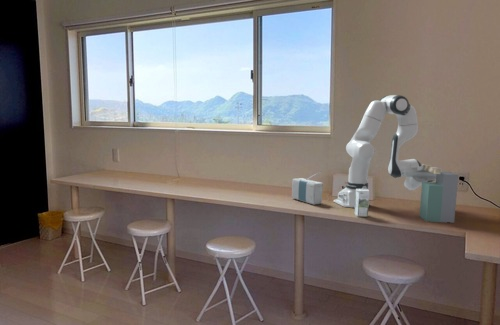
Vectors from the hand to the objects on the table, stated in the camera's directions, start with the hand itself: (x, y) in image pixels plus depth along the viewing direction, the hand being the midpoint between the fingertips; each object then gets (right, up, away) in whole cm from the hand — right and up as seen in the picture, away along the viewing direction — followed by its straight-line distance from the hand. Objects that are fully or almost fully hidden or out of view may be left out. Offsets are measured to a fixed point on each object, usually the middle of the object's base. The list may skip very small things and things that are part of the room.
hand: (427, 166), depth 218 cm
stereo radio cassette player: (-61, -22, +31) cm, 72 cm away
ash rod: (0, -2, -5) cm, 6 cm away
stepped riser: (+2, -28, -6) cm, 29 cm away
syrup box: (-36, -27, -1) cm, 45 cm away
